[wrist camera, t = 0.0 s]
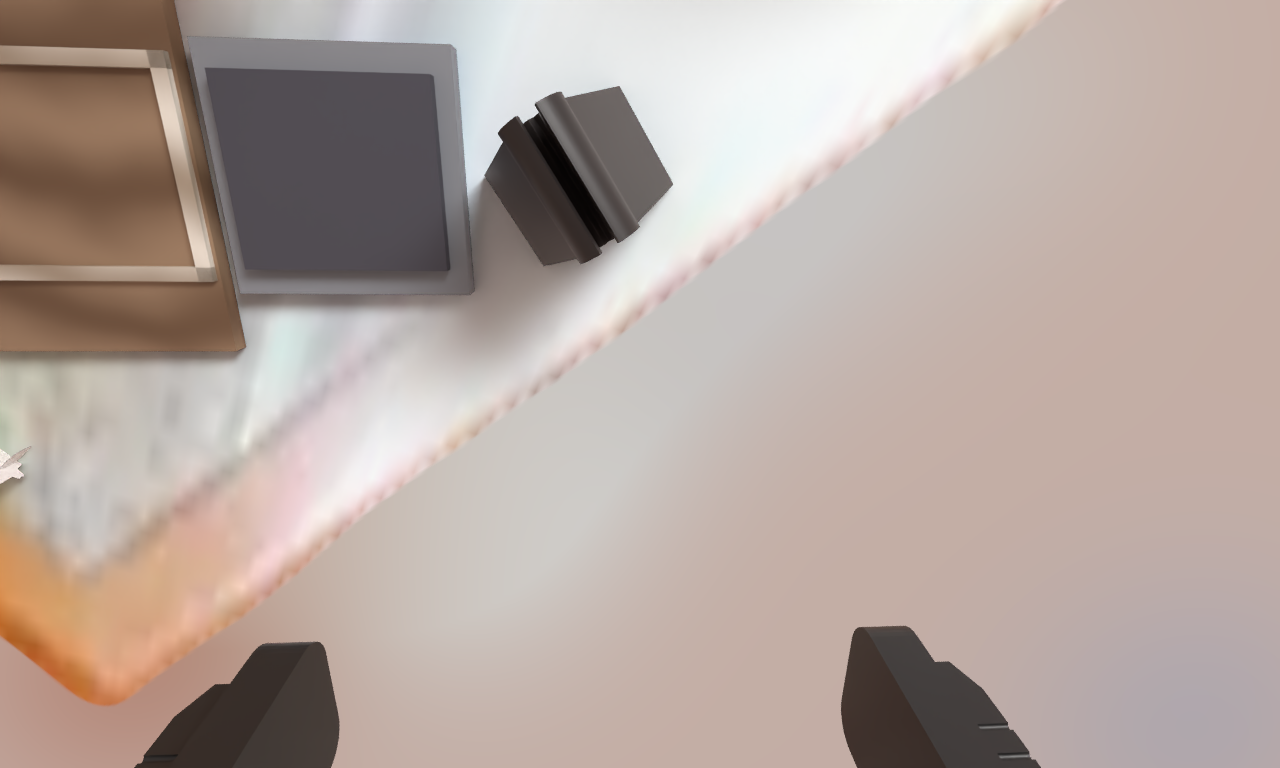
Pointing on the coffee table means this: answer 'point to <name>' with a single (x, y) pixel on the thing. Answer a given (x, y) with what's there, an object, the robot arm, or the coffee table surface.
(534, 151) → the phone stand
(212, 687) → the robot arm
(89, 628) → the coffee table surface
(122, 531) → the coffee table surface
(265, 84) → the ink pad
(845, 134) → the coffee table surface
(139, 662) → the coffee table surface
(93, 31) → the marked board
